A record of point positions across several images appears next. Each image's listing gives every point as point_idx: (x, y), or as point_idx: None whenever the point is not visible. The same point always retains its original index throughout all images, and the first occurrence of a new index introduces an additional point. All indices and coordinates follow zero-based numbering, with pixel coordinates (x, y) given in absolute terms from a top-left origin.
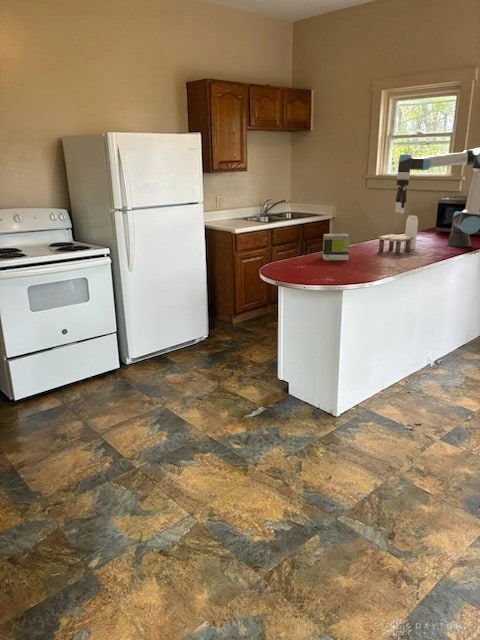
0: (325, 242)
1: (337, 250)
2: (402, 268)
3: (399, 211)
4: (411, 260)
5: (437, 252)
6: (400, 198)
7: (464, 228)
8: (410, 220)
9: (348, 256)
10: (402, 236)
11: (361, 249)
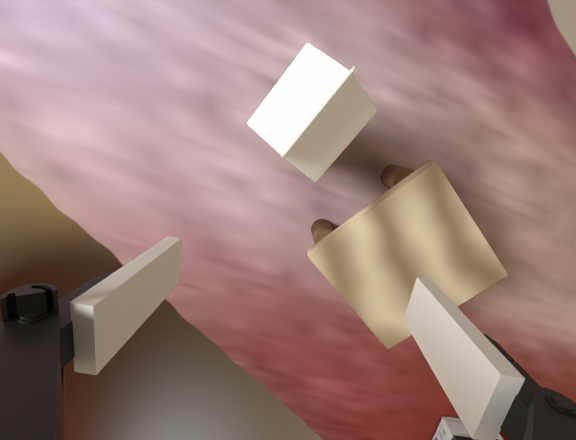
0: None
1: None
2: None
3: (177, 242)
4: (558, 224)
5: (424, 8)
6: (57, 394)
7: None
8: (339, 150)
9: (500, 435)
10: (405, 223)
11: (302, 339)
